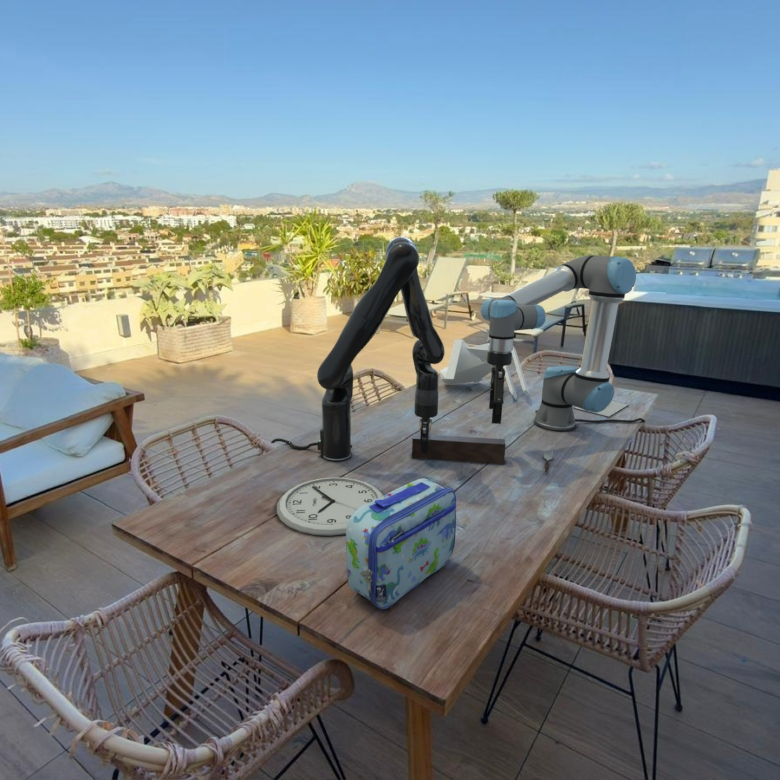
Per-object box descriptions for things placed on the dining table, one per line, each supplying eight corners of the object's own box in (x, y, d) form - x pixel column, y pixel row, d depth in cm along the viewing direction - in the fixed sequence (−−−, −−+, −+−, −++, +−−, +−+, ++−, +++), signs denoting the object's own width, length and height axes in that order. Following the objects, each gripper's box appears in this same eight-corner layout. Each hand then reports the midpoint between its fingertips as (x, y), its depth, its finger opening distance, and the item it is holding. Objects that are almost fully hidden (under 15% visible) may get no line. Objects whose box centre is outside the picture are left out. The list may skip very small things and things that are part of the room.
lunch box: (375, 622, 100) (376, 527, 94) (339, 595, 108) (338, 505, 101) (459, 565, 118) (465, 481, 112) (424, 545, 125) (427, 465, 119)
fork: (540, 473, 163) (541, 467, 163) (544, 453, 178) (545, 448, 177) (549, 474, 162) (550, 468, 162) (552, 454, 177) (553, 449, 176)
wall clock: (392, 527, 129) (268, 531, 127) (391, 533, 130) (269, 537, 127) (383, 473, 158) (282, 475, 155) (383, 478, 158) (282, 480, 156)
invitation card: (608, 416, 214) (573, 407, 224) (608, 416, 214) (573, 408, 224) (628, 404, 229) (594, 396, 238) (628, 405, 229) (594, 397, 238)
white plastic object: (461, 429, 252) (437, 405, 227) (444, 352, 274) (420, 323, 250) (535, 404, 240) (518, 377, 215) (510, 326, 262) (492, 293, 237)
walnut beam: (502, 458, 174) (504, 439, 172) (503, 464, 170) (505, 444, 167) (412, 452, 177) (413, 433, 175) (411, 458, 173) (412, 438, 171)
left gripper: (416, 393, 176) (414, 440, 181) (413, 407, 162) (411, 457, 167) (438, 394, 175) (436, 441, 180) (437, 408, 161) (435, 459, 167)
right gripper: (485, 342, 173) (480, 402, 180) (490, 360, 150) (484, 429, 156) (508, 343, 172) (503, 403, 179) (516, 361, 149) (510, 430, 155)
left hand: (424, 449), depth 174 cm, fingers closed on walnut beam, 4 cm apart
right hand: (494, 415), depth 167 cm, fingers open, 13 cm apart
